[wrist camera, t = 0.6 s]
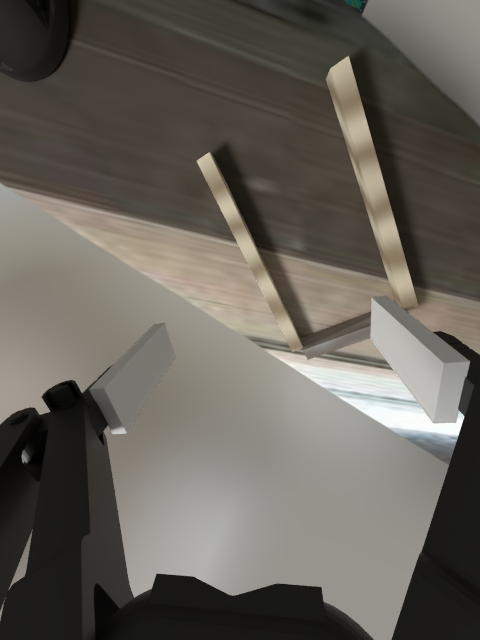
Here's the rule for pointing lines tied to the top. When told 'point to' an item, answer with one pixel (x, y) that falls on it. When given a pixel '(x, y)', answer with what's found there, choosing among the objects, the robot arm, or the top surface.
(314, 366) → the top surface
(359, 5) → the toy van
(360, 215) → the top surface
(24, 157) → the top surface
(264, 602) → the robot arm
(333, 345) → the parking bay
